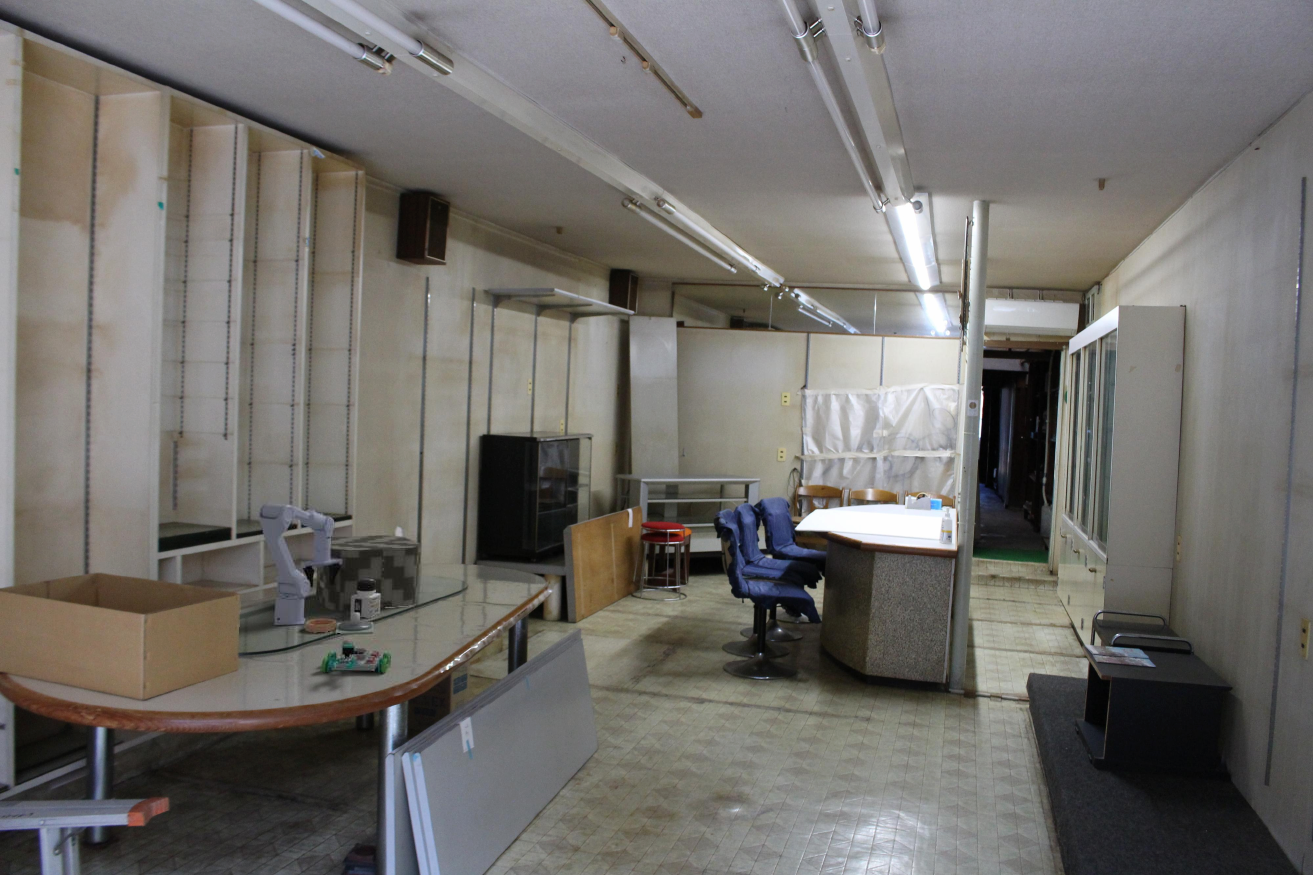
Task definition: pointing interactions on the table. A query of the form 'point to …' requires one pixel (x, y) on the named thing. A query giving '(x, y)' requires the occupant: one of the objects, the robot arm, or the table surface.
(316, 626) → the bowl
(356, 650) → the robot kit
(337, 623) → the mat
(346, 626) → the lid
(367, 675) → the table surface
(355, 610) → the container
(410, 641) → the table surface
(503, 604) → the table surface
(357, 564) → the storage box
